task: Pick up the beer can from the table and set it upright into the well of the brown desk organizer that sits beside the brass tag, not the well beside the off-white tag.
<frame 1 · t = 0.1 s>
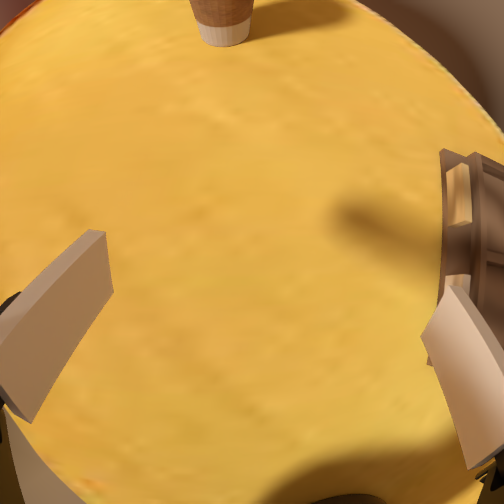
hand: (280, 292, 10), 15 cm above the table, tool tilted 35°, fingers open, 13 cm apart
coffee cup: (225, 33, 29), on the table
brown desk organizer: (497, 264, 26), on the table
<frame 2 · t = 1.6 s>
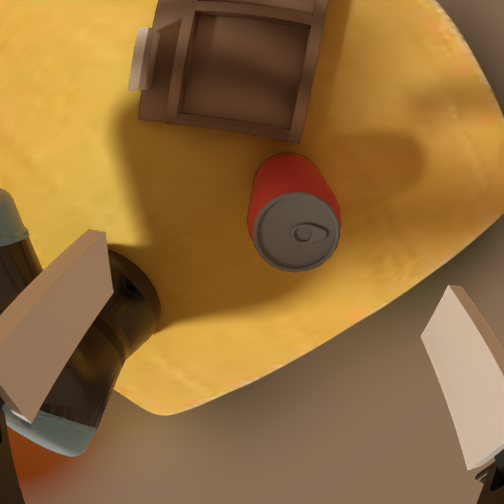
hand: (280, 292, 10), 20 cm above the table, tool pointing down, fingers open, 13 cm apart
beer can: (287, 183, 29), on the table
brown desk organizer: (255, 18, 21), on the table
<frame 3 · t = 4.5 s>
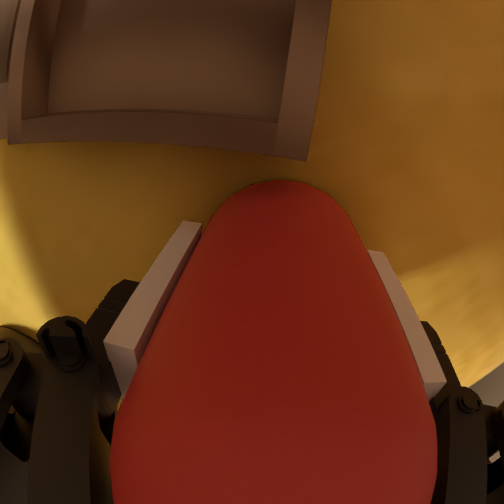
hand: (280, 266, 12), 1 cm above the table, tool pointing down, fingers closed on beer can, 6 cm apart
beer can: (280, 246, 13), on the table, touching gripper
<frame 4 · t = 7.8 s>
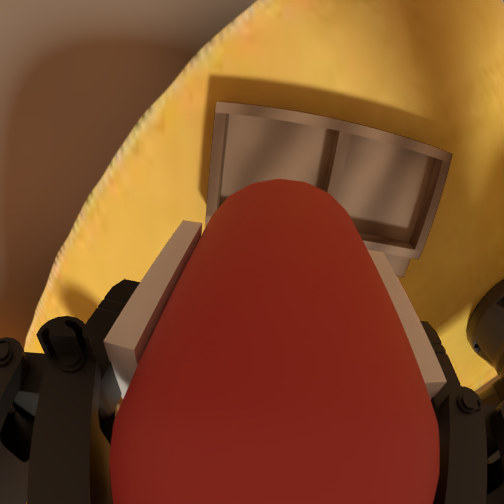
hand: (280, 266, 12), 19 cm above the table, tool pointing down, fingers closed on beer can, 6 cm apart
beer can: (281, 246, 13), point 18 cm above the table, touching gripper
brown desk organizer: (329, 177, 29), on the table
when the fingers open (5 cm above the table, at t = 11.3 s): beer can drops 2 cm, resting on brown desk organizer.
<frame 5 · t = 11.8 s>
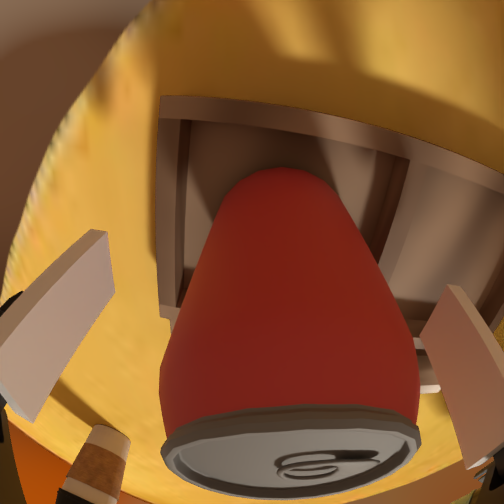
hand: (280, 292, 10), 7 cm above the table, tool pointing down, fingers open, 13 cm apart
coffee cup: (112, 433, 34), on the table
beer can: (281, 225, 15), point 1 cm above the table, touching brown desk organizer
brown desk organizer: (374, 235, 16), on the table
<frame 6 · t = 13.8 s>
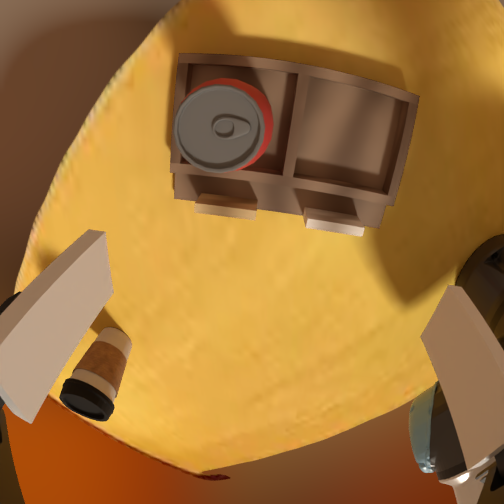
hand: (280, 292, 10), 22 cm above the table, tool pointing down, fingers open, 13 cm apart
coffee cup: (116, 338, 46), on the table
beer can: (238, 116, 27), point 1 cm above the table, touching brown desk organizer
brown desk organizer: (293, 123, 28), on the table
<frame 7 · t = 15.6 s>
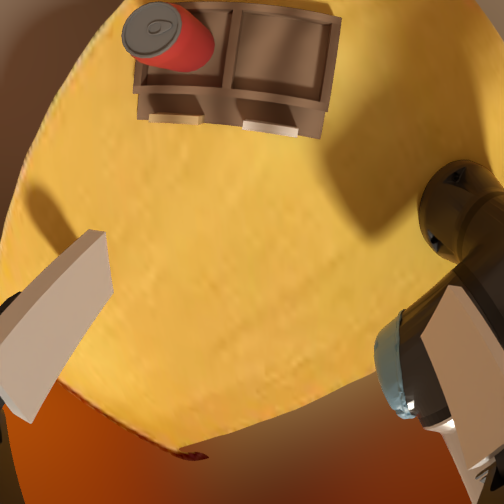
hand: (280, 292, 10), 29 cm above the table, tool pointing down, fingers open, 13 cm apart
beer can: (189, 48, 29), point 1 cm above the table, touching brown desk organizer
brown desk organizer: (235, 51, 30), on the table
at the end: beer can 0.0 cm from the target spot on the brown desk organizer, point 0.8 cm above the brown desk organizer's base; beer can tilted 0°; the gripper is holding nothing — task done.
